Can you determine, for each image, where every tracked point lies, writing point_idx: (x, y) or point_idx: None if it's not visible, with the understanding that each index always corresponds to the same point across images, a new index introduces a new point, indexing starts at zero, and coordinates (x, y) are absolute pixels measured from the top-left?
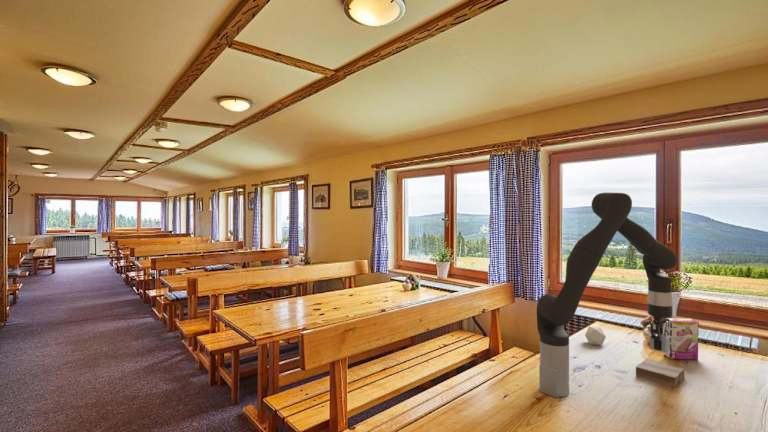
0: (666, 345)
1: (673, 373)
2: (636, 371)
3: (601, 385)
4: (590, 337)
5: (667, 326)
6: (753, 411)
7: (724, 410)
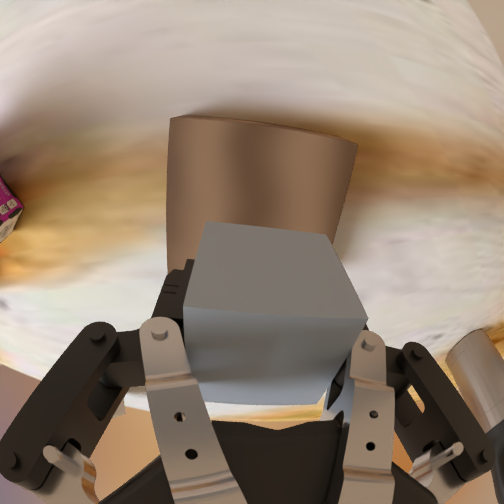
0: (332, 268)
1: (298, 153)
2: None
3: (425, 312)
4: (123, 403)
5: (73, 407)
6: None
7: (427, 20)
